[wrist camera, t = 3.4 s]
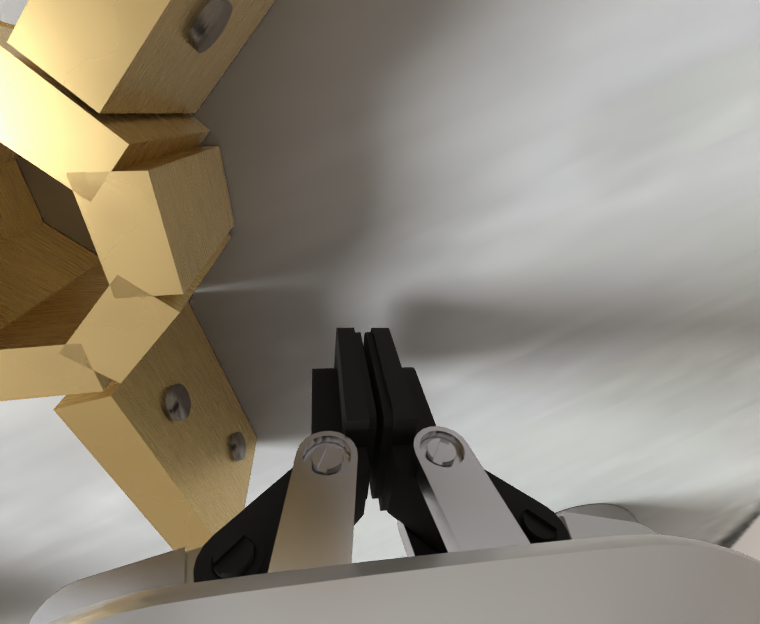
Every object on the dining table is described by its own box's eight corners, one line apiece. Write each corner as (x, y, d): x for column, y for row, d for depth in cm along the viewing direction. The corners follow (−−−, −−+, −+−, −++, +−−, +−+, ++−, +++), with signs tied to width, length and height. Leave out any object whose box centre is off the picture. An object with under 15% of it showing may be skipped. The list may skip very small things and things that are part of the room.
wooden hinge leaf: (143, 303, 12) (45, 411, 8) (189, 293, 12) (117, 394, 8) (225, 446, 15) (190, 576, 11) (260, 437, 16) (238, 563, 11)
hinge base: (481, -67, 9) (638, -237, 5) (156, 327, 12) (71, 442, 8) (260, -451, 6) (125, -1787, 2) (-75, 196, 10) (-391, 263, 5)
